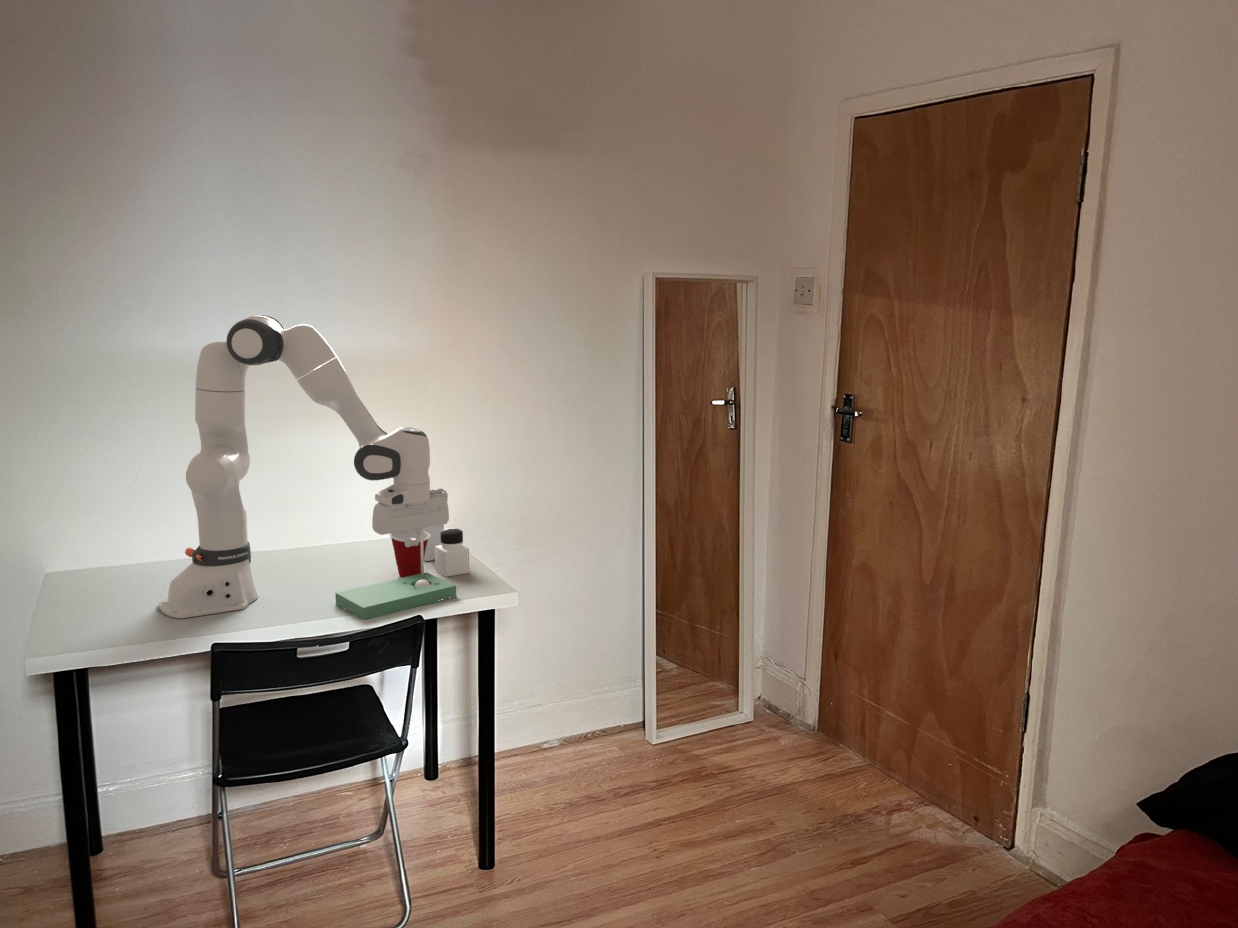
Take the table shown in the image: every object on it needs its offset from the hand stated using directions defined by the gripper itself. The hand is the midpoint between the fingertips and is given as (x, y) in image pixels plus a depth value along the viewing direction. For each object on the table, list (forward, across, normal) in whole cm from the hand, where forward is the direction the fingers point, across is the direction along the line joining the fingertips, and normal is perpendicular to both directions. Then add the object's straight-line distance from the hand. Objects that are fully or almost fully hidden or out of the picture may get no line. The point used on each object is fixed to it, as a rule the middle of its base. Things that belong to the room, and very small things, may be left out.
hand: (411, 545), depth 244 cm
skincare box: (+14, -22, -29) cm, 38 cm away
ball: (+11, -3, +1) cm, 12 cm away
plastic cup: (+14, -9, -15) cm, 22 cm away
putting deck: (+13, +4, 0) cm, 14 cm away
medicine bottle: (+13, -19, -11) cm, 26 cm away
